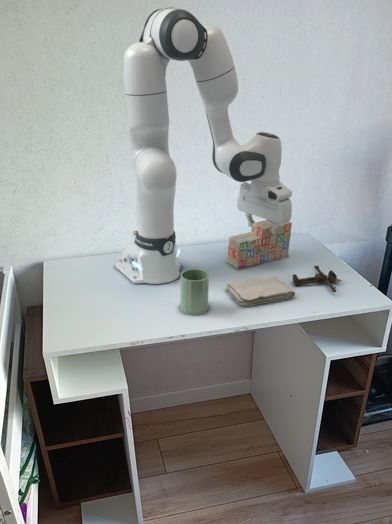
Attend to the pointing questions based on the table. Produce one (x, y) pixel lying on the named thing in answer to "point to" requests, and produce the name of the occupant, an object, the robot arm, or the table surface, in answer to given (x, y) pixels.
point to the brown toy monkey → (318, 279)
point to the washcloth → (259, 291)
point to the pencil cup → (194, 291)
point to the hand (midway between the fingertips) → (261, 229)
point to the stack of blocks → (259, 244)
